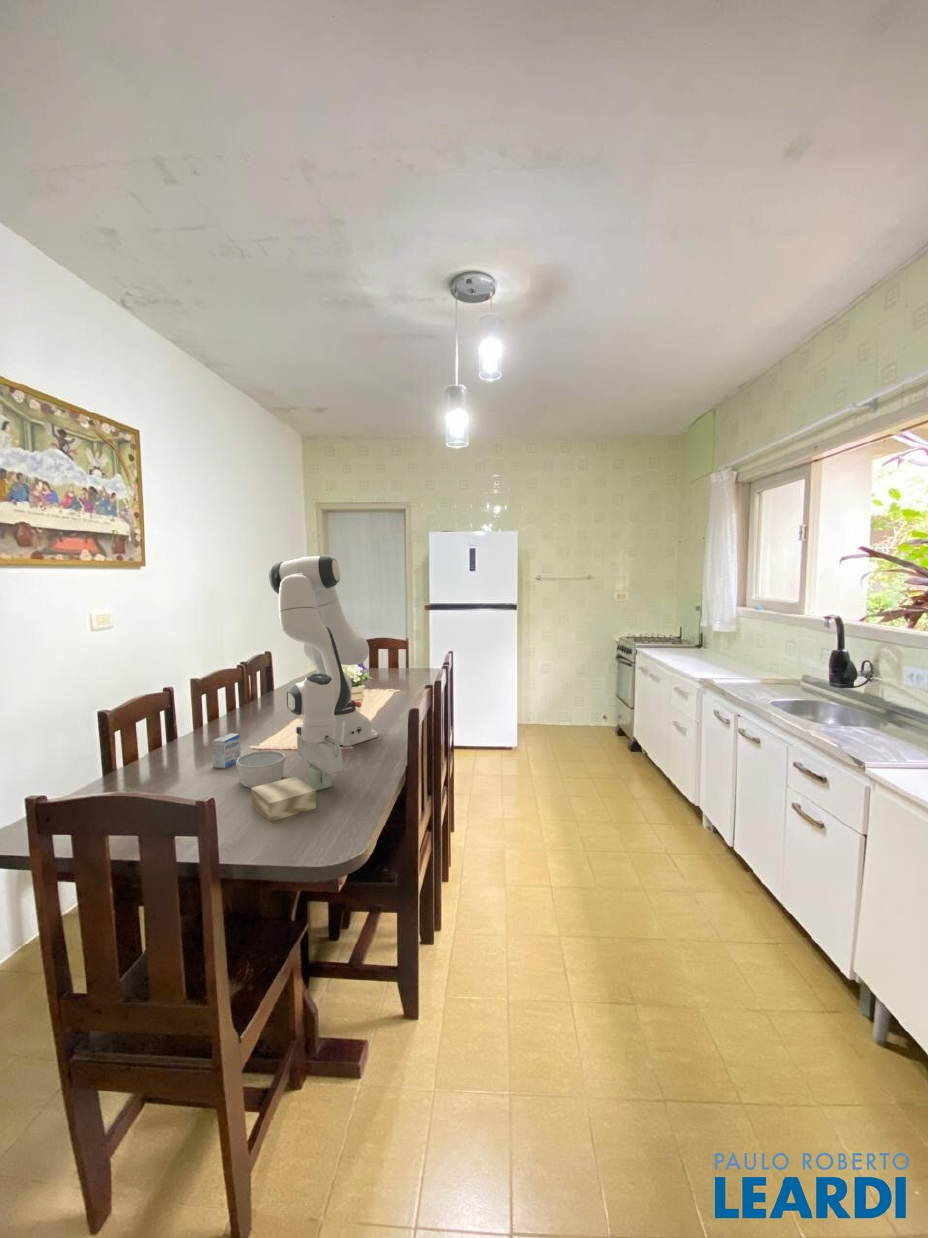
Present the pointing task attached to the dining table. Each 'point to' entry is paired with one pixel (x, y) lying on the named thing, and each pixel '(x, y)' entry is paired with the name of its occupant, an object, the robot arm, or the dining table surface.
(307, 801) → the birch block
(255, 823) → the dining table surface
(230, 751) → the medicine box
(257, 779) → the ramekin
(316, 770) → the sage cube
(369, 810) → the dining table surface
